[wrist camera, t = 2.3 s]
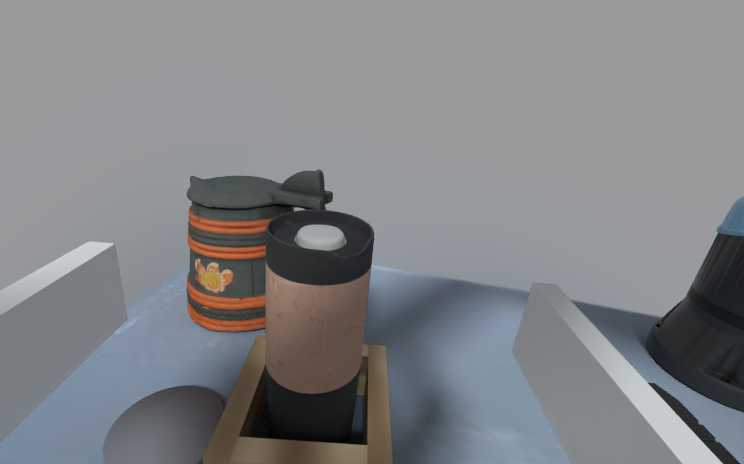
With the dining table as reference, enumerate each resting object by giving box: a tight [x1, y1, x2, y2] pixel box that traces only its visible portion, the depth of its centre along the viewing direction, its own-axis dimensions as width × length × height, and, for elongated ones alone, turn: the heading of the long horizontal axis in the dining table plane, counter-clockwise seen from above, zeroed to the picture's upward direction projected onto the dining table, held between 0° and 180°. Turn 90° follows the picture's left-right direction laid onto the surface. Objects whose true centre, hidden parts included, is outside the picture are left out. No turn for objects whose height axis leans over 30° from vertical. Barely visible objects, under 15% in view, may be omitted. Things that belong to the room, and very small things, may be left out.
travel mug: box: [265, 210, 374, 444], centre depth 29 cm, size 8×8×20 cm
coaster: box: [103, 386, 224, 464], centre depth 31 cm, size 9×9×1 cm
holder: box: [203, 336, 393, 464], centre depth 32 cm, size 13×13×5 cm
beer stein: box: [187, 170, 333, 332], centre depth 47 cm, size 19×15×20 cm
